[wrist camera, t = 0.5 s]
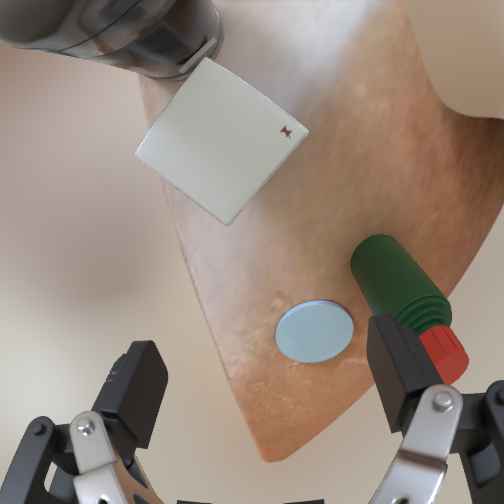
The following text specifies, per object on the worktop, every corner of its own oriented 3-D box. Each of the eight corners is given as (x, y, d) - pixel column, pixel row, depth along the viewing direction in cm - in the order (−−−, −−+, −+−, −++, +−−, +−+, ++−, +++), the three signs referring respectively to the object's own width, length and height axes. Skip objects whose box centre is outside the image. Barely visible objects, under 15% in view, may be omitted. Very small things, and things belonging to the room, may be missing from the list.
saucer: (270, 306, 35) (270, 310, 34) (352, 293, 34) (354, 297, 33) (280, 363, 39) (280, 367, 38) (351, 352, 38) (352, 356, 37)
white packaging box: (231, 79, 24) (207, 50, 13) (292, 127, 26) (315, 133, 15) (183, 138, 27) (129, 155, 15) (242, 183, 29) (228, 231, 17)
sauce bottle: (349, 238, 31) (414, 348, 15) (402, 230, 30) (489, 324, 15) (351, 288, 33) (398, 405, 18) (399, 279, 33) (465, 383, 17)
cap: (413, 331, 18) (430, 362, 15) (455, 319, 18) (475, 347, 15) (405, 367, 20) (418, 397, 17) (445, 355, 20) (460, 382, 17)
